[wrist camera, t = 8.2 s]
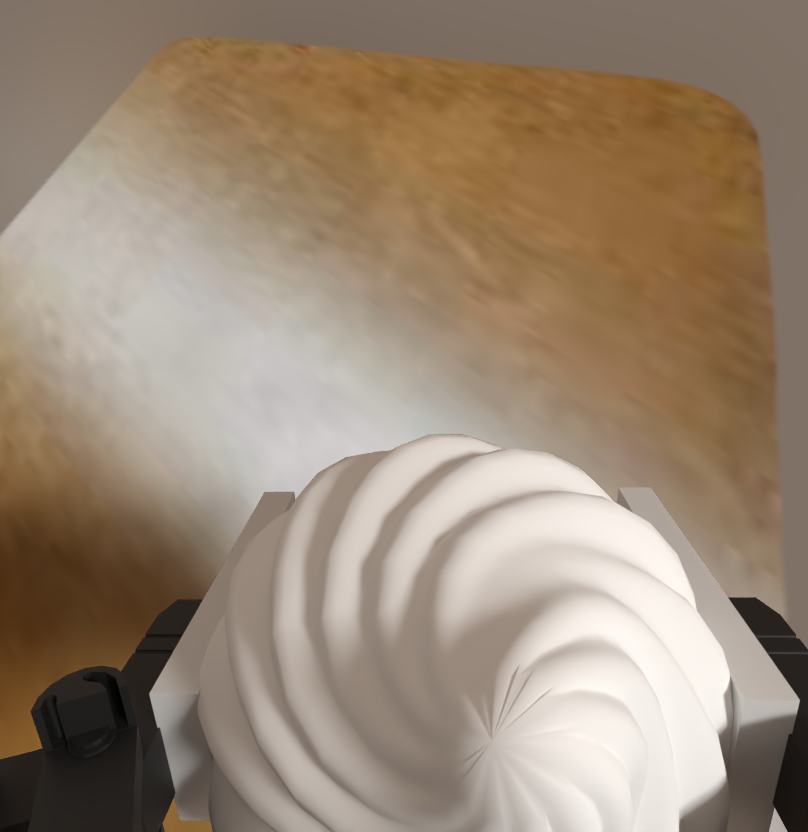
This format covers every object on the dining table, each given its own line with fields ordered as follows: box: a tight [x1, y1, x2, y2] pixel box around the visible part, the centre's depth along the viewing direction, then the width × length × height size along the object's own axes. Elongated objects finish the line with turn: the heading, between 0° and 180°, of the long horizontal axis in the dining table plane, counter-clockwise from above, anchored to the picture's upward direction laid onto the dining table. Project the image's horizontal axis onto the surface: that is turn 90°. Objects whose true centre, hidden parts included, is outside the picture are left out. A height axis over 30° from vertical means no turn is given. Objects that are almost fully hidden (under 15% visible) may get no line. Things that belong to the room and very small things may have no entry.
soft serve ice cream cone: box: [197, 434, 733, 832], centre depth 13 cm, size 8×8×16 cm
